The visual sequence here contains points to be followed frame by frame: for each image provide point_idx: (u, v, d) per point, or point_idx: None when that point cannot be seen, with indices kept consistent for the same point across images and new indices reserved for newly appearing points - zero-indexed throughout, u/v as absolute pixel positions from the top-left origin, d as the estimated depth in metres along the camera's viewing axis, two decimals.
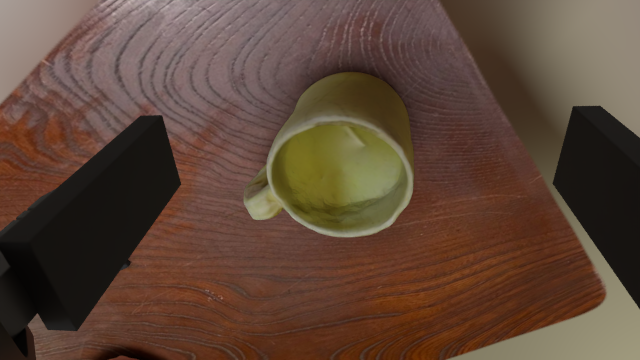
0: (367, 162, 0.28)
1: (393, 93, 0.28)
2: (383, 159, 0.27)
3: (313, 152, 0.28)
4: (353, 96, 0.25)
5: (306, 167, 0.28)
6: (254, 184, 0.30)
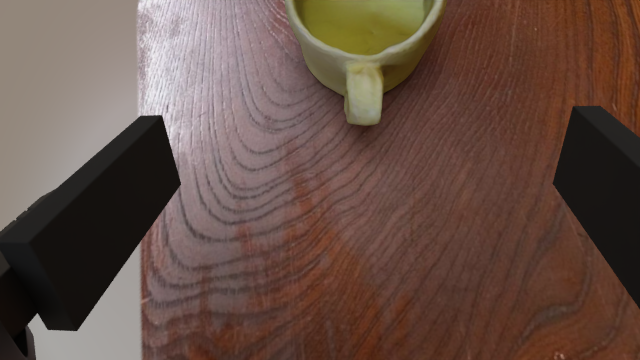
0: None
1: None
2: None
3: (340, 28, 0.26)
4: None
5: (352, 41, 0.25)
6: None
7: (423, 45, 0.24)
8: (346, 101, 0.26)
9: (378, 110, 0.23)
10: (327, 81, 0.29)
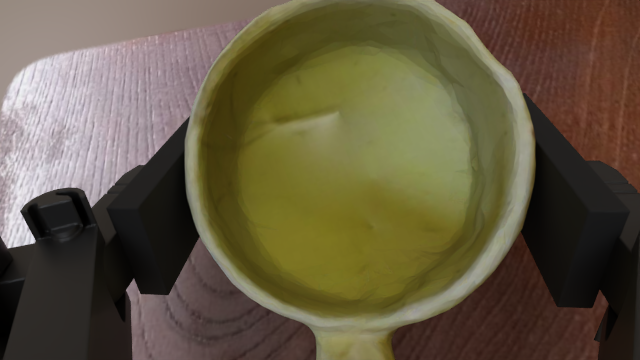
0: (376, 123, 0.13)
1: None
2: (381, 91, 0.14)
3: (308, 213, 0.13)
4: None
5: (330, 244, 0.13)
6: None
7: None
8: None
9: None
10: None
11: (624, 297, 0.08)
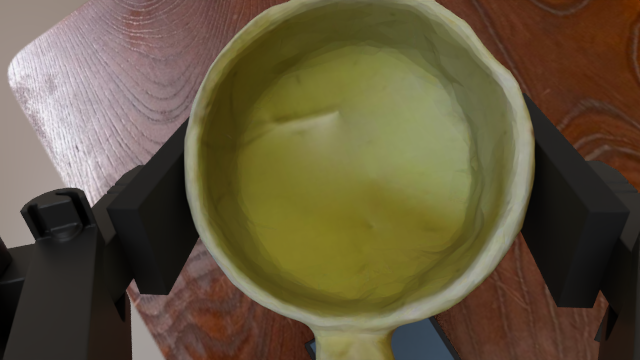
0: (376, 122, 0.13)
1: None
2: (381, 90, 0.14)
3: (308, 212, 0.13)
4: None
5: (330, 243, 0.13)
6: None
7: None
8: None
9: None
10: None
11: (624, 297, 0.08)
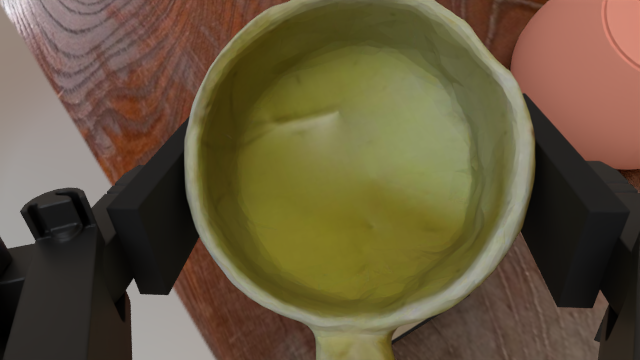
0: (376, 122, 0.13)
1: None
2: (381, 90, 0.14)
3: (308, 212, 0.13)
4: None
5: (330, 243, 0.13)
6: None
7: None
8: None
9: None
10: None
11: (624, 297, 0.08)
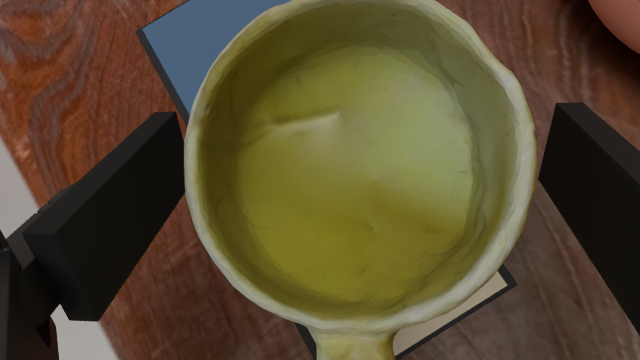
0: (377, 123, 0.13)
1: None
2: (382, 91, 0.14)
3: (308, 213, 0.13)
4: None
5: (330, 245, 0.13)
6: None
7: None
8: None
9: None
10: None
11: None
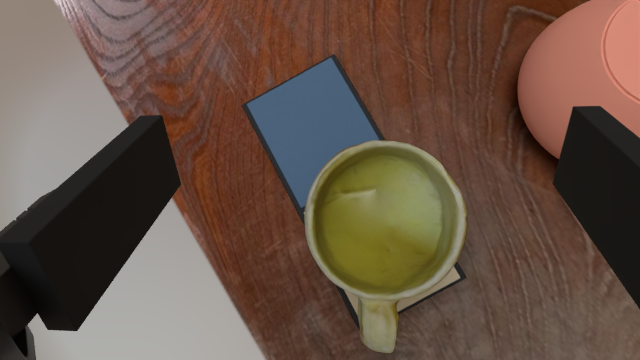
0: (395, 196, 0.26)
1: None
2: (398, 180, 0.26)
3: (358, 241, 0.26)
4: None
5: (368, 257, 0.26)
6: (363, 328, 0.26)
7: None
8: (360, 304, 0.27)
9: (391, 348, 0.24)
10: None
11: None
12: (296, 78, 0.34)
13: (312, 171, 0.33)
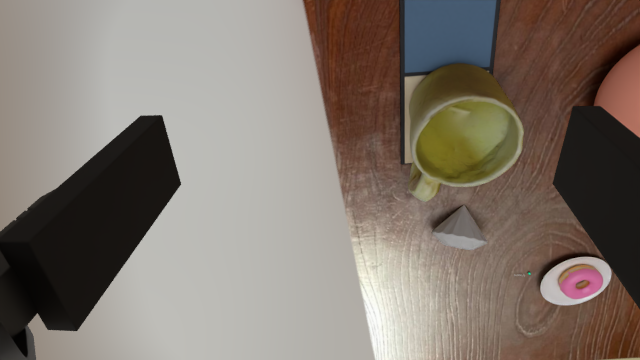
0: (479, 121, 0.37)
1: (469, 67, 0.38)
2: (489, 113, 0.36)
3: (439, 136, 0.38)
4: (443, 86, 0.35)
5: (439, 148, 0.39)
6: (412, 180, 0.41)
7: None
8: None
9: (425, 201, 0.40)
10: None
11: None
12: None
13: (427, 48, 0.39)
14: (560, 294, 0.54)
